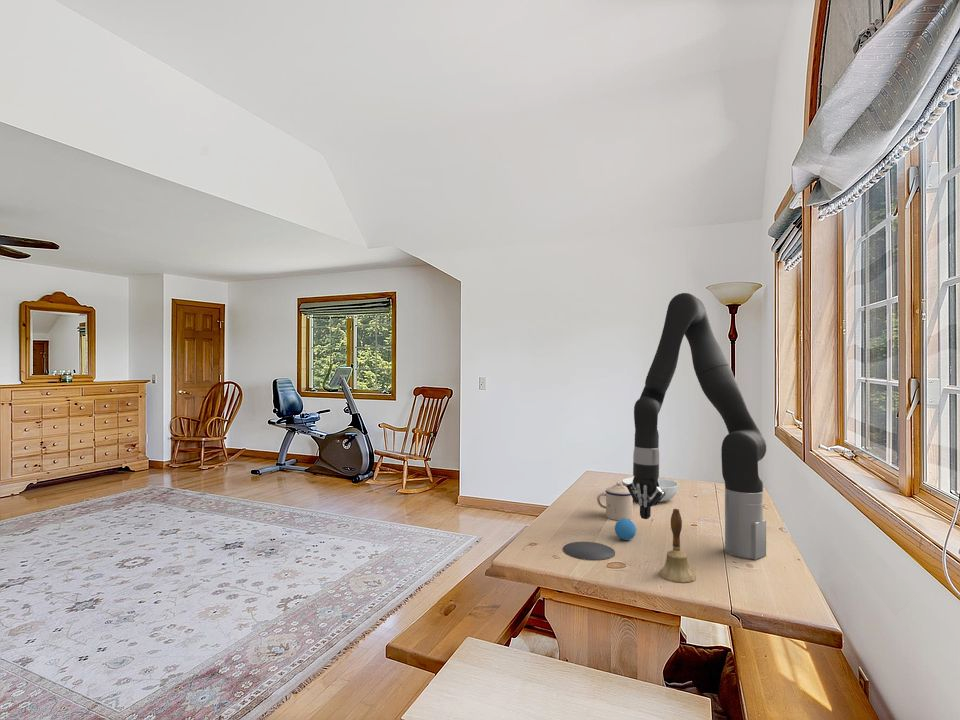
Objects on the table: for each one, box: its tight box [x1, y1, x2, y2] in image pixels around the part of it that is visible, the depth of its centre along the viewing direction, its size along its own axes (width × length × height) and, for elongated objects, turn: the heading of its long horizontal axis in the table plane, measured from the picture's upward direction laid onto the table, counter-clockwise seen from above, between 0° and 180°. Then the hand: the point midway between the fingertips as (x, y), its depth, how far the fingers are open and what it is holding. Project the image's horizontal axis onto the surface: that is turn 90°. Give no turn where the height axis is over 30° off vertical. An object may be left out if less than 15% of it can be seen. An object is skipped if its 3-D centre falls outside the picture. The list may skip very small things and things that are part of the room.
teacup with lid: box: [596, 481, 634, 521], centre depth 174 cm, size 12×9×12 cm
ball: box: [614, 519, 637, 541], centre depth 151 cm, size 6×6×6 cm
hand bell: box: [658, 508, 696, 584], centre depth 124 cm, size 8×8×16 cm
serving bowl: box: [621, 476, 680, 503], centre depth 198 cm, size 21×21×7 cm
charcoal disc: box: [562, 541, 616, 561], centre depth 141 cm, size 14×14×1 cm
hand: (644, 518), depth 157 cm, fingers closed
